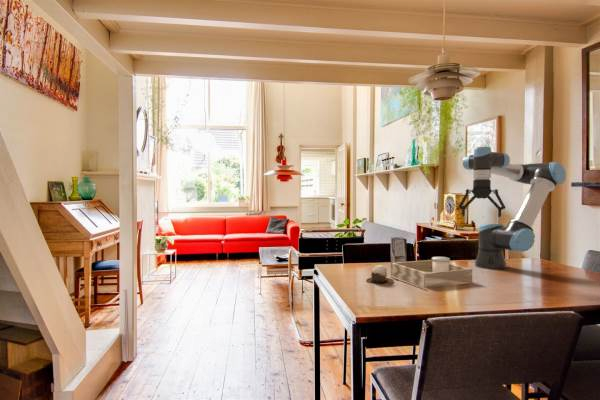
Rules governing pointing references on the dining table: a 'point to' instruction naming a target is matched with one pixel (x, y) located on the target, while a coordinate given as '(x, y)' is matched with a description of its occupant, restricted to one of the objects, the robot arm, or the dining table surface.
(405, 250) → the coffee box
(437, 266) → the white light bulb
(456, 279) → the crate
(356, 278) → the dining table surface
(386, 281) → the skull
